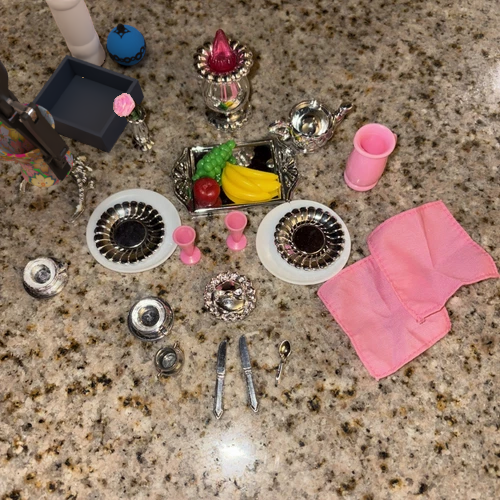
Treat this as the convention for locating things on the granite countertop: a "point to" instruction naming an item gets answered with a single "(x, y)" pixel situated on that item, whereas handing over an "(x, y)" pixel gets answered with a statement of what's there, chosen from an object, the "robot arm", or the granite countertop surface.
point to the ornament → (125, 45)
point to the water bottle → (77, 30)
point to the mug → (29, 154)
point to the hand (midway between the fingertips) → (40, 163)
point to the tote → (87, 101)
